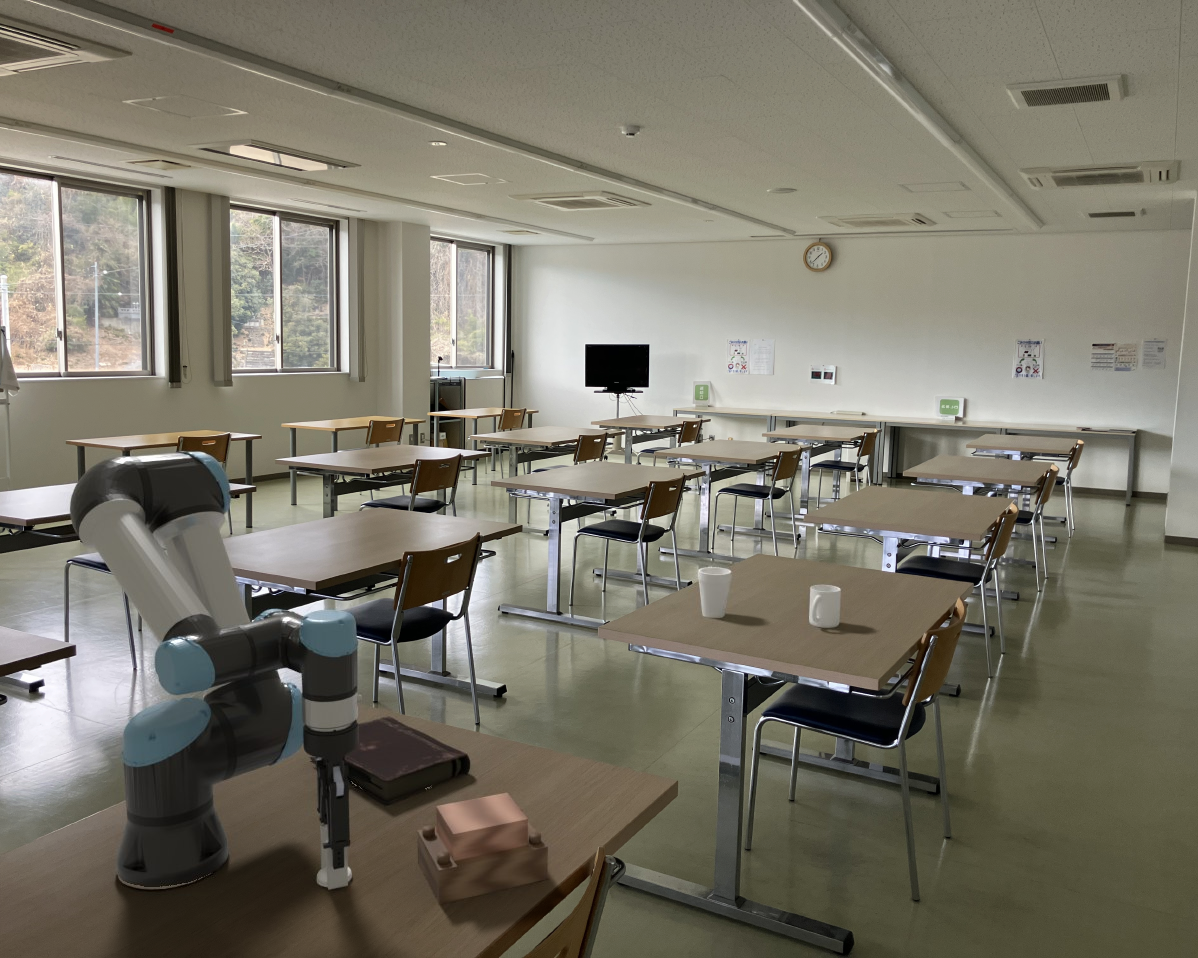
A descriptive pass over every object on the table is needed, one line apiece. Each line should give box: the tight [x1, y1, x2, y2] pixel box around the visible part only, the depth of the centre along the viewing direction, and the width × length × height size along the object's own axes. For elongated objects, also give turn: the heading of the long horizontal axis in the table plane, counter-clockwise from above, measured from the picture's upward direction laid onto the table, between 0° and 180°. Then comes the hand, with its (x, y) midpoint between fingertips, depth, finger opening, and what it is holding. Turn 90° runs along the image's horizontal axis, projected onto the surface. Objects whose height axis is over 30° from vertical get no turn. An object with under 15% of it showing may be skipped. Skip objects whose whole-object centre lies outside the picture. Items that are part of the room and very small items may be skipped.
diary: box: [309, 715, 471, 807], centre depth 175 cm, size 19×25×5 cm
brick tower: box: [416, 792, 549, 905], centre depth 141 cm, size 16×12×9 cm
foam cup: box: [697, 566, 732, 619], centre depth 277 cm, size 10×9×13 cm
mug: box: [808, 584, 842, 629], centre depth 267 cm, size 12×8×10 cm
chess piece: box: [316, 825, 353, 888], centre depth 138 cm, size 5×5×10 cm
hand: (334, 875), depth 138 cm, fingers closed on chess piece, 5 cm apart
